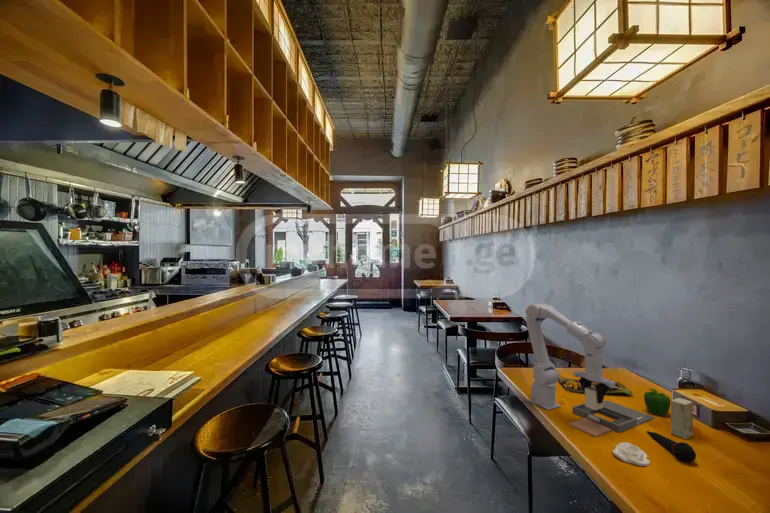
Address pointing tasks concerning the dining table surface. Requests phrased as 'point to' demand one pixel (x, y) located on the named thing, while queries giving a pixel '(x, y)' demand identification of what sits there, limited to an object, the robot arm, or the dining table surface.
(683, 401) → the skincare box
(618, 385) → the prepared meal
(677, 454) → the microphone
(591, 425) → the terracotta tile
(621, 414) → the equipment case
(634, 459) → the rose
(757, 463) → the dining table surface
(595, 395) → the block
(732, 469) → the dining table surface
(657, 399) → the bell pepper
